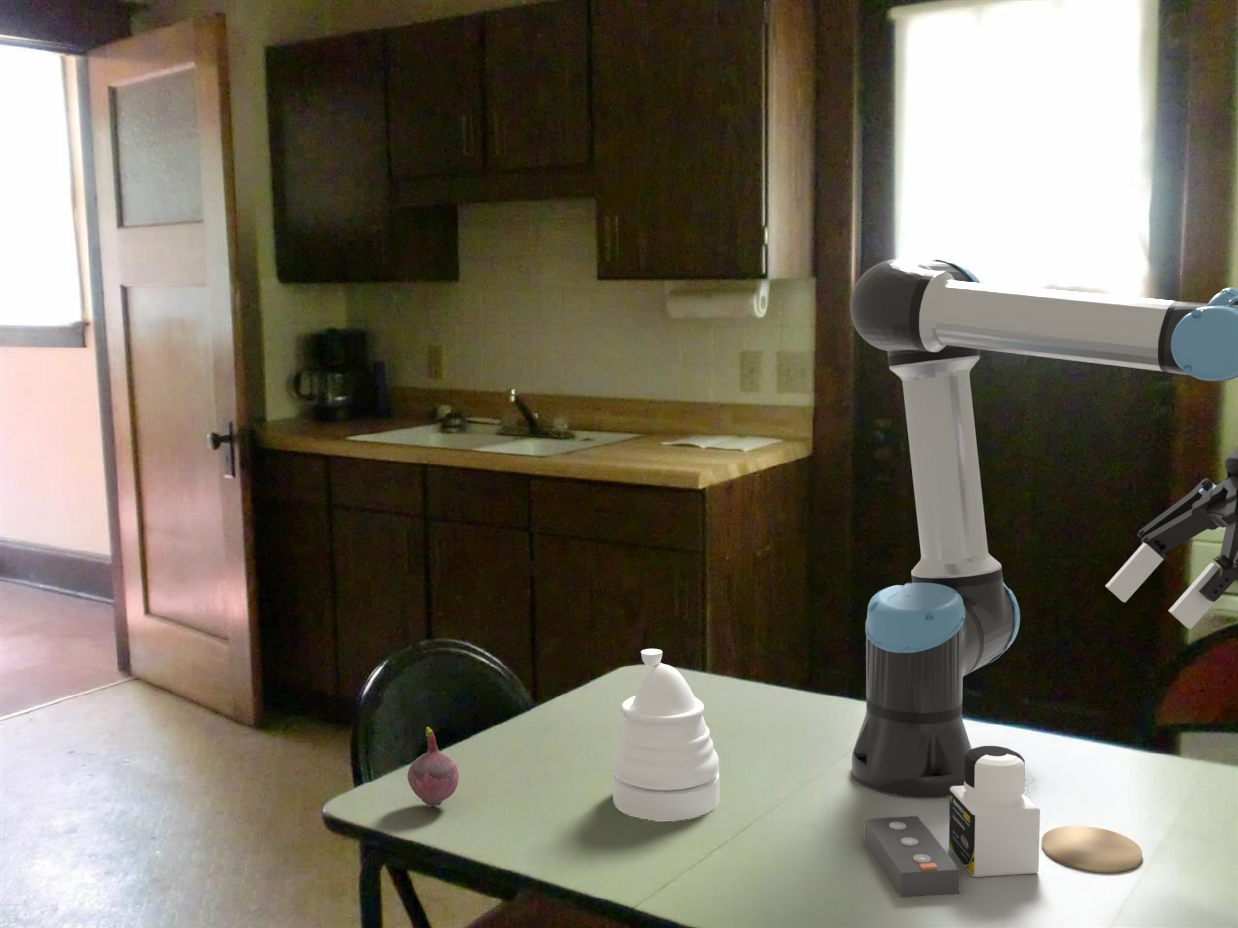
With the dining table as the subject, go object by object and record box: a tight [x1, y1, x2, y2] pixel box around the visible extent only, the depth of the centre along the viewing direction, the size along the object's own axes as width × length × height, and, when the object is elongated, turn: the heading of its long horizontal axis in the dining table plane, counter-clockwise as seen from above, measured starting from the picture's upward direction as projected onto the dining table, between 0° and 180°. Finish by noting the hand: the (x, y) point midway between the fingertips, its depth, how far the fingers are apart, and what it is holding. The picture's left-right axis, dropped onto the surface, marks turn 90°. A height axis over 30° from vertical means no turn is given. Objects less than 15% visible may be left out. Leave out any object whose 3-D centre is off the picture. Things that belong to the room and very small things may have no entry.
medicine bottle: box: [948, 745, 1041, 878], centre depth 126 cm, size 7×7×12 cm
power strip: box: [863, 815, 961, 898], centre depth 126 cm, size 13×6×3 cm, turn 5°
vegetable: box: [407, 726, 460, 807], centre depth 143 cm, size 6×6×10 cm
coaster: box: [1041, 825, 1143, 873], centre depth 129 cm, size 10×10×1 cm
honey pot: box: [611, 648, 720, 822], centre depth 144 cm, size 13×13×18 cm
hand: (1145, 606), depth 128 cm, fingers open, 13 cm apart
